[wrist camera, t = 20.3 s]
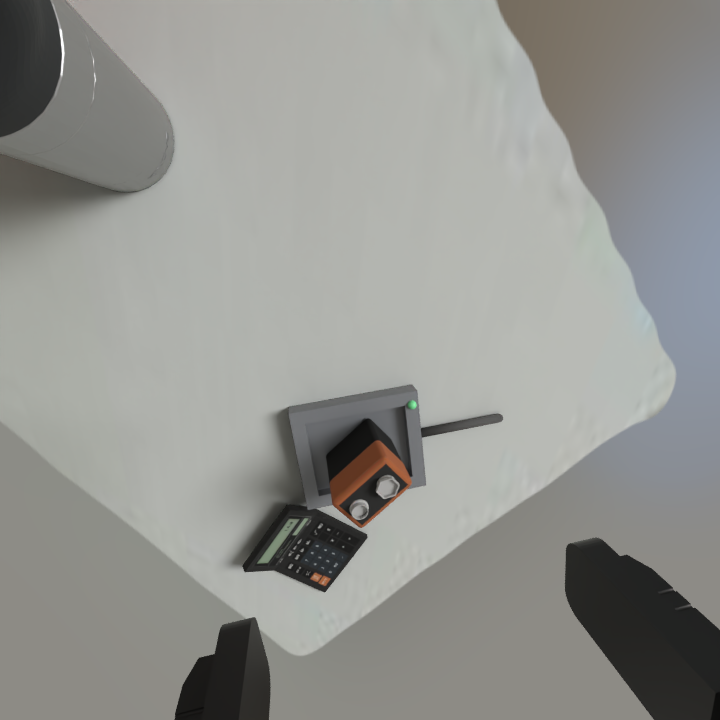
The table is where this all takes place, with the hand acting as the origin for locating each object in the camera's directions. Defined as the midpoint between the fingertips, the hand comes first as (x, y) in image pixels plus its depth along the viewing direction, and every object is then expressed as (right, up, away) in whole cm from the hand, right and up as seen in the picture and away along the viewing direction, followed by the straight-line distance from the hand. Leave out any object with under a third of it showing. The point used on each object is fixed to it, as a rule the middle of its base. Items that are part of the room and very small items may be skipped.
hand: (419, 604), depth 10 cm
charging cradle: (+4, -3, +36) cm, 36 cm away
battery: (-2, -4, +35) cm, 35 cm away
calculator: (-8, -16, +39) cm, 43 cm away
